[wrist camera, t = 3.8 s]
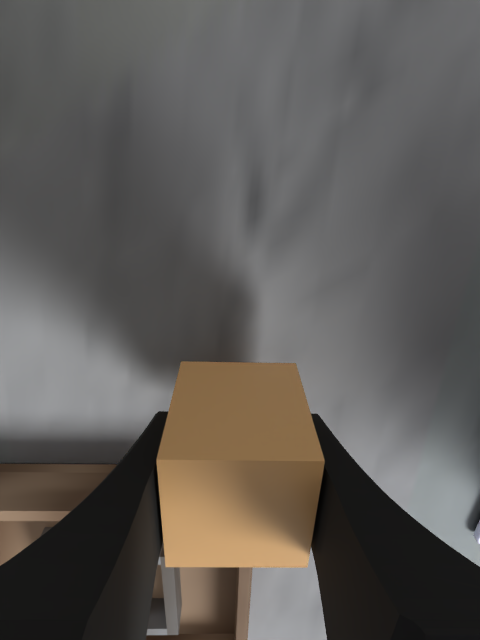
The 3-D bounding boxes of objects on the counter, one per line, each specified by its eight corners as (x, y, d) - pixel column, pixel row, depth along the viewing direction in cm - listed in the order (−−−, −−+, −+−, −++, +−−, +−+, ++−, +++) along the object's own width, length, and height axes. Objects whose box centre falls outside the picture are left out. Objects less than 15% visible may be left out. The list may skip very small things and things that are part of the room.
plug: (295, 363, 13) (325, 461, 9) (286, 450, 15) (307, 567, 10) (180, 361, 13) (156, 459, 9) (184, 449, 14) (165, 567, 10)
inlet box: (253, 465, 18) (256, 511, 15) (243, 629, 23) (244, 680, 21) (-46, 463, 17) (-88, 510, 15) (19, 630, 23) (-4, 683, 21)
